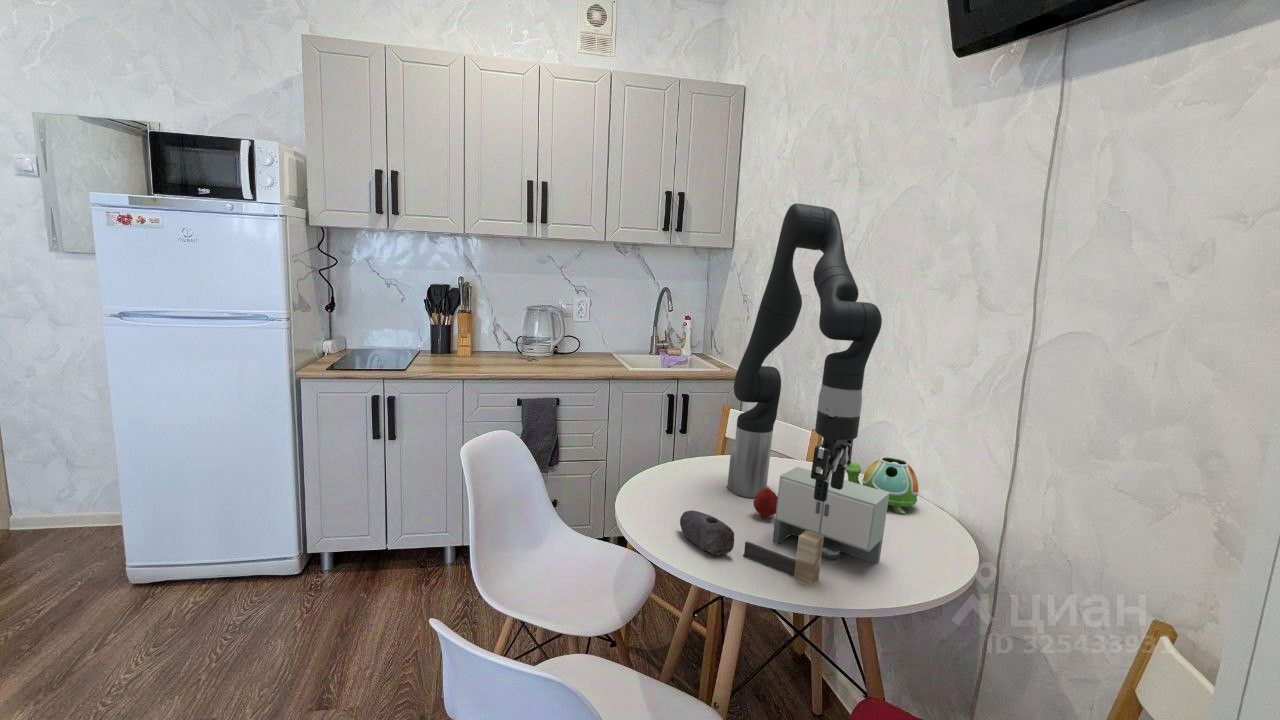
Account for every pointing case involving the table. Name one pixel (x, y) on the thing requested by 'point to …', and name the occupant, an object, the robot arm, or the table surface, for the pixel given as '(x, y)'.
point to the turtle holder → (889, 480)
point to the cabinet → (832, 514)
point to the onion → (766, 502)
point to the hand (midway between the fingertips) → (828, 494)
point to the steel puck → (831, 550)
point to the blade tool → (802, 567)
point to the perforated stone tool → (707, 532)
